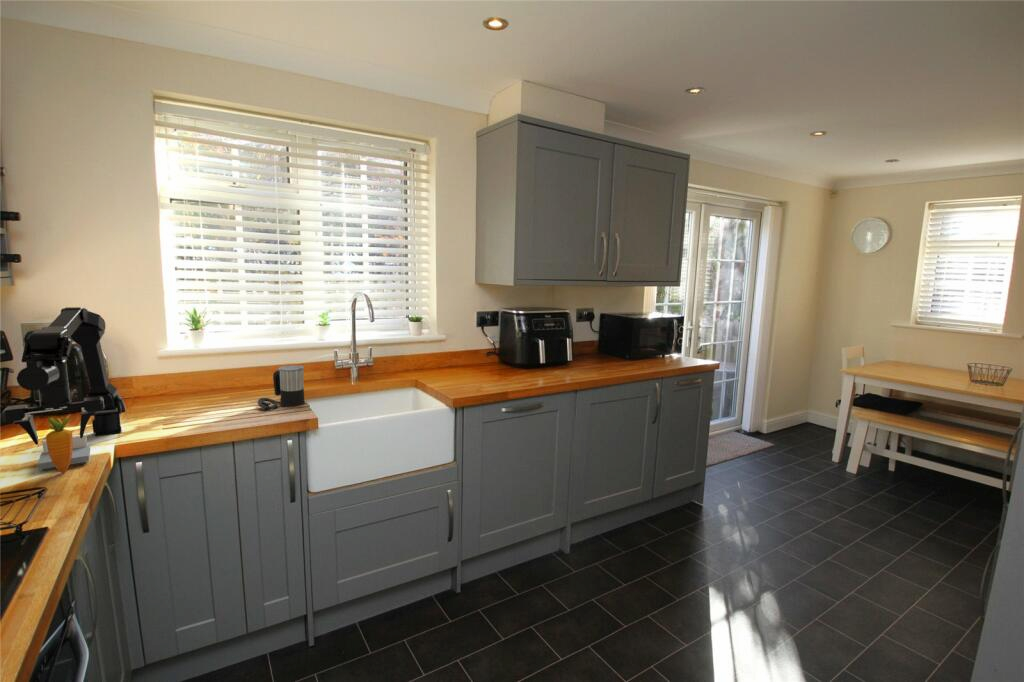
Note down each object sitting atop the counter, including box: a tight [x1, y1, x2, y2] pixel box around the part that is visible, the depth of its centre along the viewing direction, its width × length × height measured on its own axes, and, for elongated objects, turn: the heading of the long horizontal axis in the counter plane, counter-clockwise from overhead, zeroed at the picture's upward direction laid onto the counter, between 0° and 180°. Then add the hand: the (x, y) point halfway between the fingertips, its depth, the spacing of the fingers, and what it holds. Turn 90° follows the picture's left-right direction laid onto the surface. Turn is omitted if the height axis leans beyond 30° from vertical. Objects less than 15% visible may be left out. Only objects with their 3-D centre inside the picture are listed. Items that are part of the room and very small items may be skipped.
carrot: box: [45, 417, 73, 474], centre depth 127 cm, size 5×5×15 cm
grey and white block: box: [37, 433, 91, 471], centre depth 135 cm, size 10×10×6 cm
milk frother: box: [257, 365, 306, 410], centre depth 193 cm, size 14×16×15 cm
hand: (59, 441), depth 127 cm, fingers open, 8 cm apart
